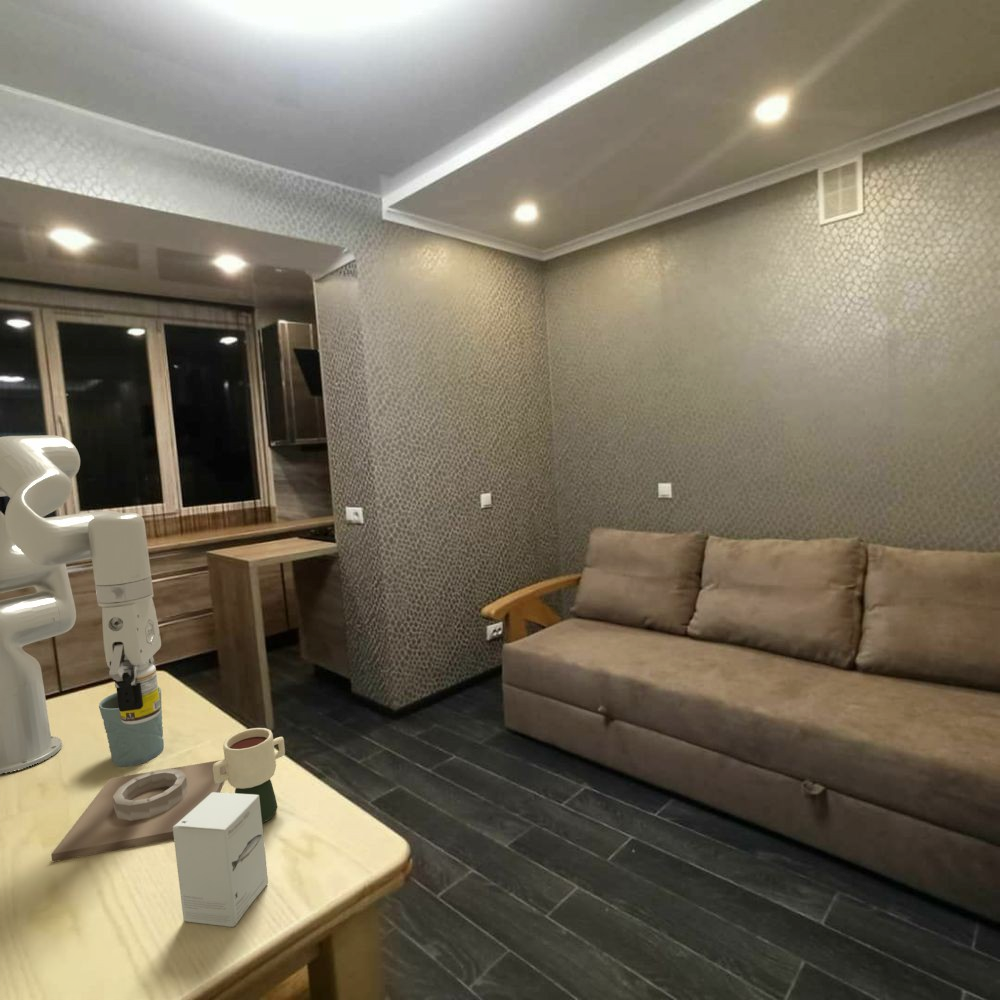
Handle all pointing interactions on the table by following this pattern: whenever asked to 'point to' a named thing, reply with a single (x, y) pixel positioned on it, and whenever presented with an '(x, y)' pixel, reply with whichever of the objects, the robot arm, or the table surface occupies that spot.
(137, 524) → the robot arm
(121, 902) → the table surface
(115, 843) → the collar board
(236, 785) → the character mug
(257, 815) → the supplement box
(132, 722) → the supplement bottle
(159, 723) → the blue-grey plant pot
